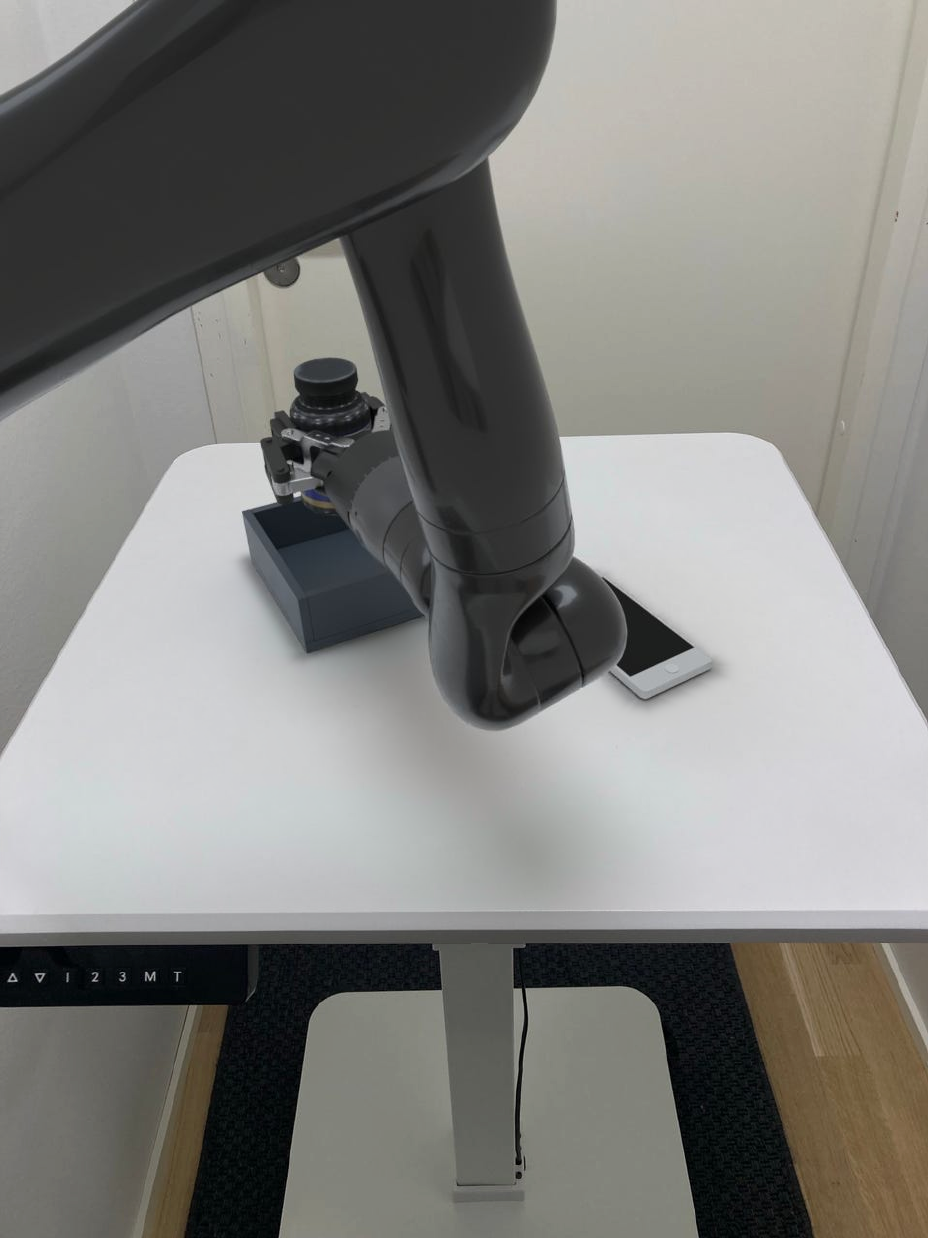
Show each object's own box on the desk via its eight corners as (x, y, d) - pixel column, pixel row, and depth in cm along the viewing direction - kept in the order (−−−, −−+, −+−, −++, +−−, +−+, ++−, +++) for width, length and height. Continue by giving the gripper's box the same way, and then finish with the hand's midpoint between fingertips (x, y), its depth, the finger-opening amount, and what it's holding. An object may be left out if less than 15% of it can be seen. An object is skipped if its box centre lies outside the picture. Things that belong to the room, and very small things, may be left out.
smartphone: (643, 701, 75) (644, 691, 74) (528, 601, 86) (529, 592, 85) (713, 668, 78) (714, 658, 77) (594, 575, 88) (594, 567, 88)
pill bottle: (286, 501, 79) (265, 371, 72) (344, 473, 82) (328, 346, 76) (336, 527, 75) (319, 392, 69) (394, 496, 79) (383, 366, 72)
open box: (306, 653, 81) (297, 600, 78) (251, 561, 92) (241, 510, 89) (473, 599, 86) (472, 547, 83) (402, 518, 98) (398, 469, 94)
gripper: (501, 431, 65) (401, 348, 77) (294, 484, 60) (222, 387, 72) (502, 528, 69) (407, 435, 81) (309, 584, 64) (239, 477, 77)
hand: (320, 413), depth 77 cm, fingers closed on pill bottle, 6 cm apart
